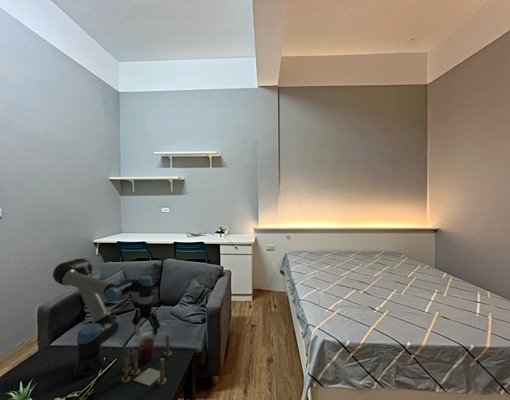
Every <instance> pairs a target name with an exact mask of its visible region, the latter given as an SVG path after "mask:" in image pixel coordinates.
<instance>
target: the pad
mask: <svg viewBox="0 0 510 400" xmlns="http://www.w3.org/2000/svg"><path fill="white" fill-rule="evenodd" d="M158 379H160V370H157V369H153V368H152V367H151V368H150V367H148V368H147V369H146V370H144V371H143V372H141V373H139V374H138V375H137V376H136V377H135V378H133V381H134V382H135V383H138V384H141V385H144V386H147V387H151V386H152V385H154V383H155V382H157V381H158Z"/></svg>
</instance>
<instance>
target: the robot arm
mask: <svg viewBox="0 0 510 400" xmlns="http://www.w3.org/2000/svg"><path fill="white" fill-rule="evenodd" d="M93 268H94V265H93V263H92V261H91V260H90V259H87V258H84V257H82V258H76V259H73V260H69V261H65V262H62V263H60V264H58V265H56V267H55V268H54V270H53V272H52V278H53V280H54V282H56V283H57V284H60V285H62V286H65V287H68V286H72V287H75V288H77V290H78V292H79V294H80V295H81V297H82V301H83V302H84V305H85V306H86V308H87V310H88V312H89V314H90V316H91V318H92V322H91V324H86V325H84V326H83V327H82V328H80V330H79V331H78V333H77V340H76V342H77V343H76V344H77V348H76V349H77V351H76V352H77V358H76V361H75V365H74V367H73V375H74V376H75V377H78V378H85V377H89V376H92V375H96V374H97V373H99V372H101V370H103V369H104V367H105V359H104V355H103V353H102V344H104V343H105V342H106V341H108V340H109V339H111V338H113V337H115V335H116V334H118V333H119V331H120V329H121V327H122V326H121V325H122V322H121V319H120V317H119V316H118V315H115V314H113V312H112V311H108V310H107V308H106V307H107V306H106V305H105V303H104V301H103V300H102V297H104V299H105V300H106V302H109V303H113V302H116V301H118V300H120V299H122V298H123V297H124V296H127V295H129V294H131V293H137V294H138V308H136V309H135V313H134V317H133V318H132V321H131V324H132V325H134V330H135V332H134V336H135V337H138V336H140V334H141V333H140V332H141V327H140V326H141V325H140V322H141V321H142V319H146V320H147V321H149V324H150V326H151V328H152V329H151V330H152V331H151V334H152V336H151V337H152V341H154V340H155V341H156V340H157V338H158V336H157V335H158V329H160V328H161V325H160V322H159V319H158V317H157V311H152V310H153V278H152V276H151V275H143V276H140V277H138V279H134V278H133V279H131V278H123V279H122V280H121V281H120V282H119V284H114V283H111V282H108V281H105V280H101V279H98V278H96V277H92V276H93V273H92V272H93V270H94V269H93ZM101 296H102V297H101Z"/></svg>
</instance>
